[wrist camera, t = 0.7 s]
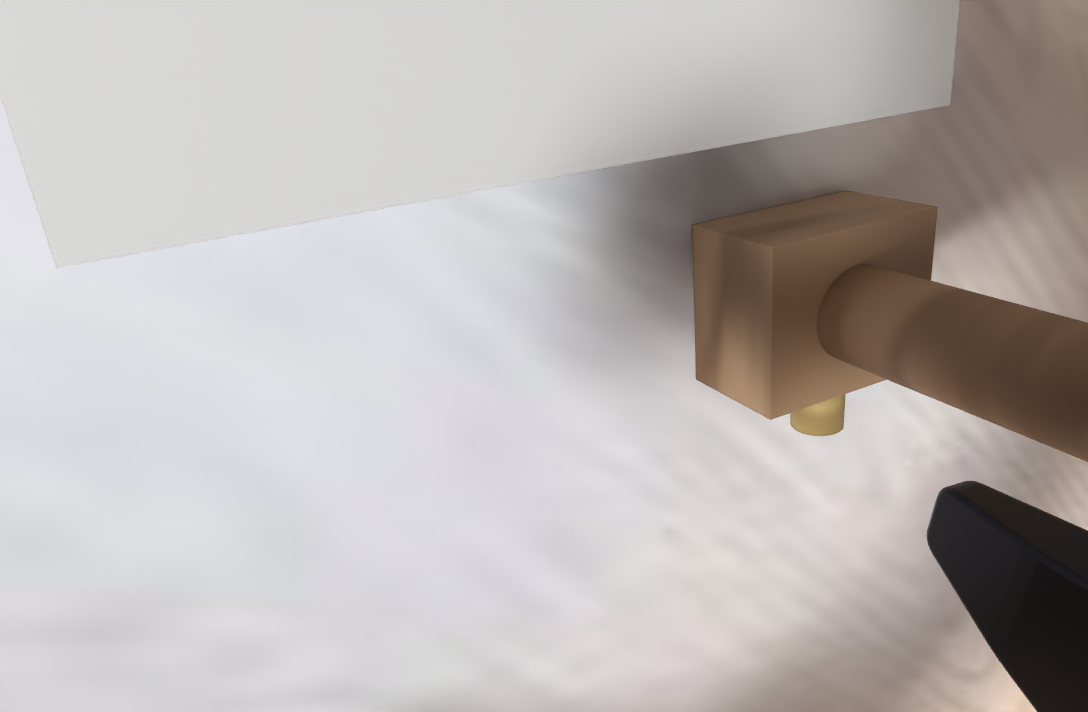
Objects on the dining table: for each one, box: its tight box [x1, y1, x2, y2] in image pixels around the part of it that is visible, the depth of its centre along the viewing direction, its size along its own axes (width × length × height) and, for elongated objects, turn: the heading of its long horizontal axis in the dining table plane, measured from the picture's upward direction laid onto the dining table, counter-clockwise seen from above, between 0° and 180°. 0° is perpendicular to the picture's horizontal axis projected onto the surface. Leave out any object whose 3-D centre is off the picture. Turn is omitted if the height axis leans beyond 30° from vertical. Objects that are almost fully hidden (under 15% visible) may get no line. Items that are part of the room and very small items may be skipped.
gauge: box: [693, 191, 1088, 462], centre depth 21 cm, size 7×6×13 cm
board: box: [0, 0, 960, 268], centre depth 20 cm, size 7×24×2 cm, turn 96°
